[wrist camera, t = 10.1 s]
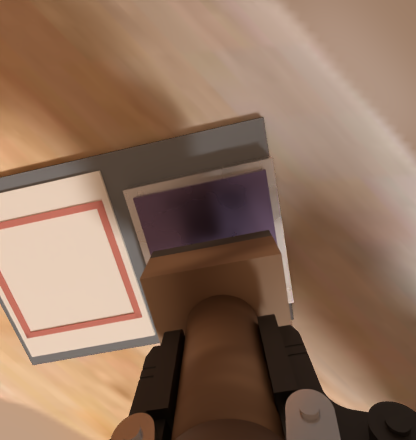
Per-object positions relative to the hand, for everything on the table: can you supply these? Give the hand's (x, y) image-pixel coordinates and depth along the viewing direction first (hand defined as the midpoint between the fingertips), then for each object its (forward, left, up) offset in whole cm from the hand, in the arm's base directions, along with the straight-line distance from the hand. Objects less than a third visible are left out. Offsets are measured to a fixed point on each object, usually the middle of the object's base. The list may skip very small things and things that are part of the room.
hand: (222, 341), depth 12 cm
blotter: (+7, 0, -11) cm, 13 cm away
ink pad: (0, 0, -11) cm, 11 cm away
